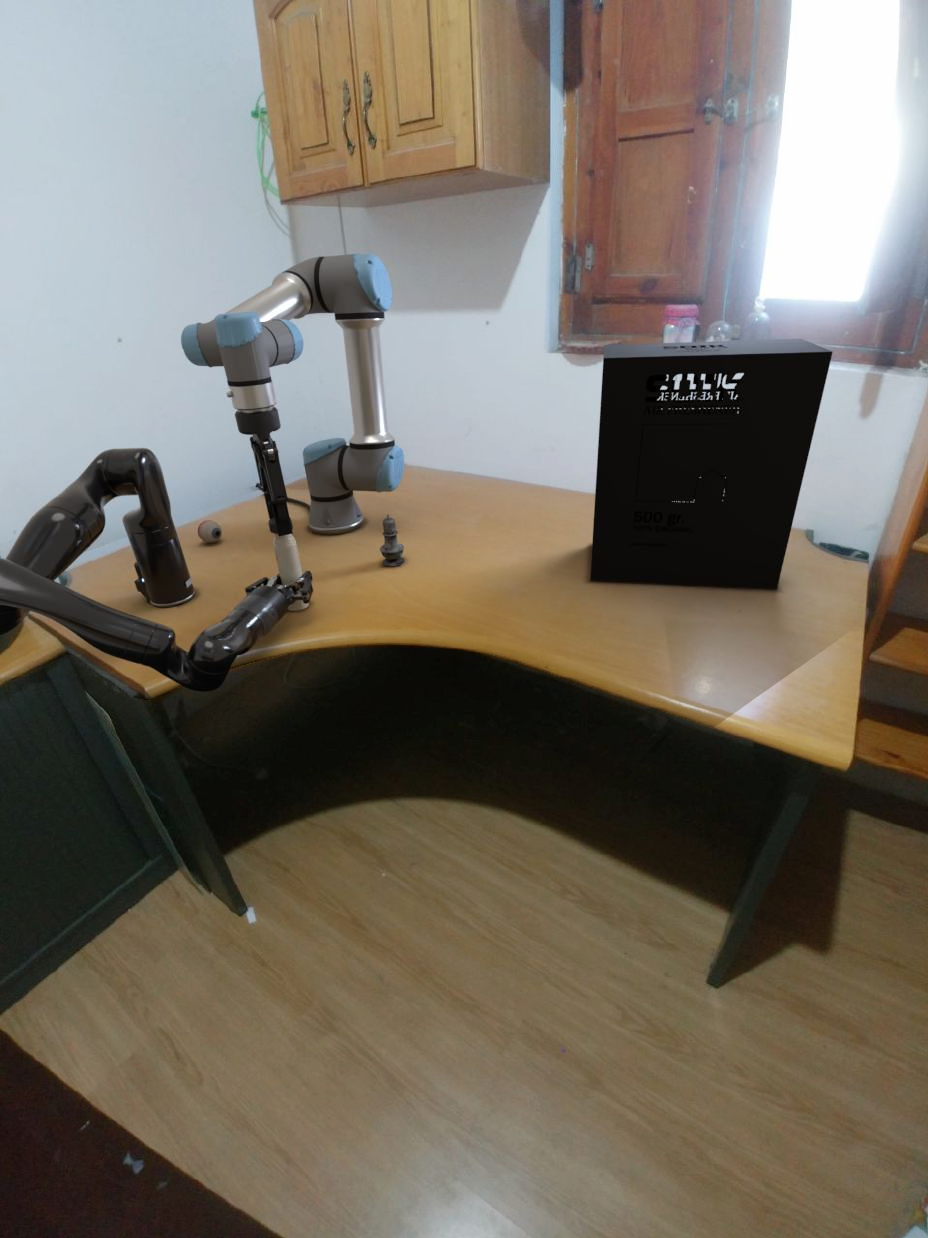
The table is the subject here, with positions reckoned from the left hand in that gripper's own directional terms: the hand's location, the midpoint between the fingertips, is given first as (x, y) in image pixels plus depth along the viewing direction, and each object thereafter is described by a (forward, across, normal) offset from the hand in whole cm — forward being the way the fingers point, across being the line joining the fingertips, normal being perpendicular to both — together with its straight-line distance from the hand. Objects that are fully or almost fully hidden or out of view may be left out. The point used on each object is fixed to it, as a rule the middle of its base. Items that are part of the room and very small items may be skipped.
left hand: (298, 574), depth 128 cm
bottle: (-3, 0, -6) cm, 7 cm away
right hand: (-3, 0, +11) cm, 12 cm away
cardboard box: (+26, +79, -6) cm, 84 cm away
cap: (-3, 0, +13) cm, 13 cm away
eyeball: (+28, -40, -6) cm, 49 cm away
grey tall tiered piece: (+21, +14, -6) cm, 26 cm away
